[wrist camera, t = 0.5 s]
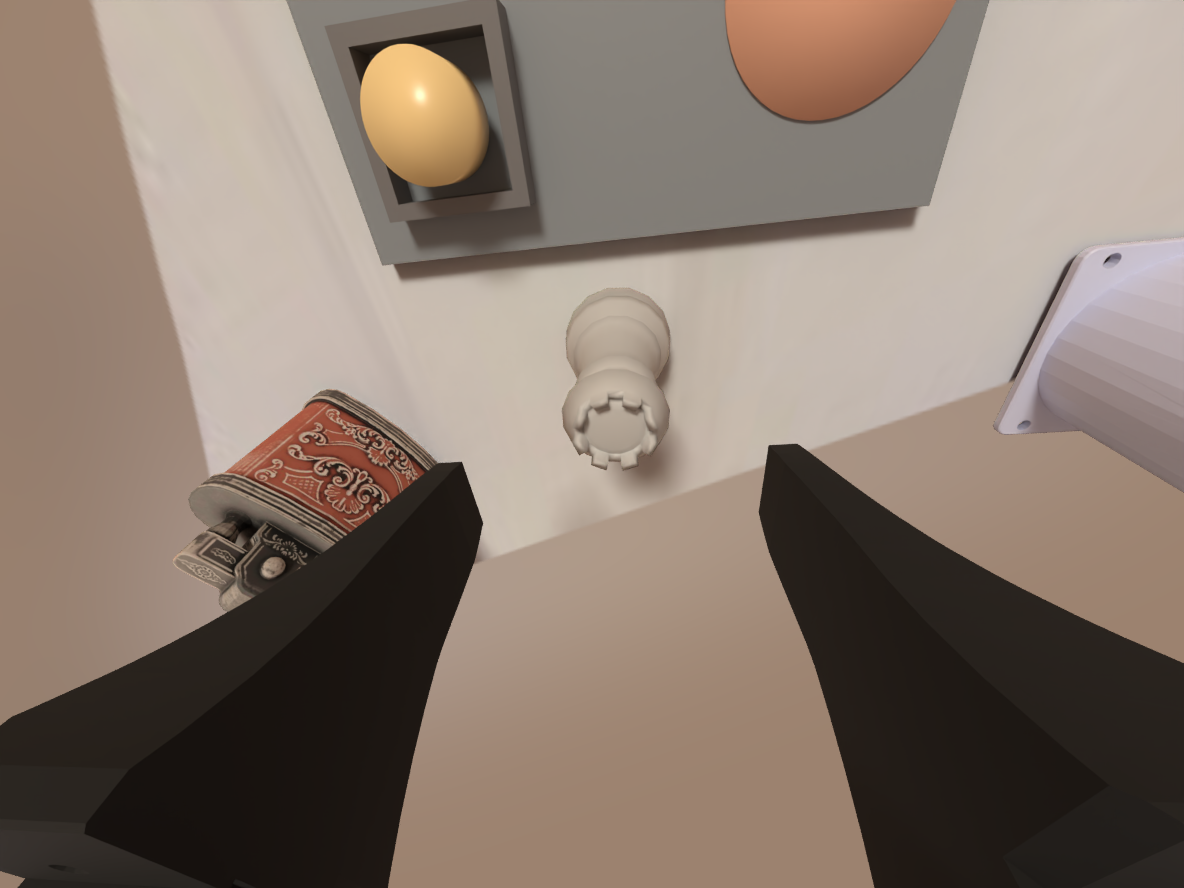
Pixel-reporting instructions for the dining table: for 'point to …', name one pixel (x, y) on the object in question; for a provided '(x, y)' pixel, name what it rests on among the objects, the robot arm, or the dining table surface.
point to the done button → (423, 116)
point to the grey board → (653, 113)
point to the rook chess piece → (616, 377)
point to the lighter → (297, 495)
